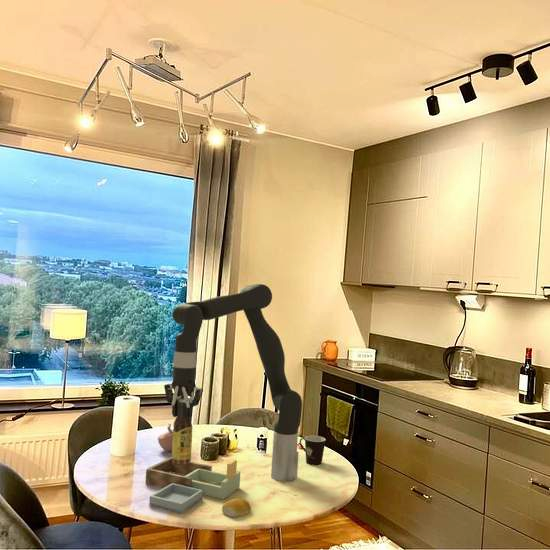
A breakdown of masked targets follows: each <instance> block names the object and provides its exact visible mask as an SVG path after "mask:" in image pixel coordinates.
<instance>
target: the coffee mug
mask: <svg viewBox="0 0 550 550" xmlns="http://www.w3.org/2000/svg"><path fill="white" fill-rule="evenodd" d="M302 440H304V445H305V447H304V446H303V444H302ZM326 441H327V440H326V438H325V437H323V436H319V435H307V436H304V437H301V438H300V440H299V446H300V447H301V449H302V450H303V451H304V453H305V463H306V464H307V465H309V466H314V465H315V466H316V467H317V466H321V465H322V462H323V457H324V452H325V451H324V450H325V445H326Z"/></svg>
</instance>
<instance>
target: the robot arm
mask: <svg viewBox="0 0 550 550" xmlns="http://www.w3.org/2000/svg"><path fill="white" fill-rule="evenodd" d="M272 301H273V293H272V290H271V288H269V286H267V285H266V284H262V283H261V284H260V283H257V284H251V285H245V286H243V287H242V288H241V289H240V291H239V292H238V293H233V294H226V295H221V296H214V297H211V298H207V299H204V300H200V301H199V300H198V301H191V302H190V301H189V302H183V303H181V304H178V305H177V306H175V307H174V309H173V310H172V320H173V321H174V322H175V323H176V324H177V325H181V326H183V328H182V332H180V333H178V334H176V337H175V340H174V343H175V344H174V355H173V360H172V361H173V362H172V363H173V364H172V382H171V383H167V384H165V385H164V386H163V387H164V391H165V397H166V403H169V404H171V407H172V408H171V415H172V418H173V417H174V418H177V416H178V401H181V400H180V399H181V398H182V397H183V399H184V400H183V401H186V406H187V408H186V419H190V420H191V418H192V417H193V409H194V407H196V406H199V404H200V401H201V398H202V395H203V391H204V389H203V387H200V388H199V387H198V386H197V385H196V382H195V381H196V380H197V379H196V378H197V377H196V376H197V363H198V362H197V361H198V358H197V351H198V350H197V348H198V338H199V334H200V332H201V328H202V324H203V321H210V320H215V319H218V318H221V317H225V316H228V315H231V314H234V313H237V312H240V311H241V312H242V311H243V312H244V315H245V317H246V320H247V322H248V325H249V327H250V330H251V333H252V336H253V339H254V342H255V345H256V349H257V353H258V354H259V358H260V362H261V363H262V367H263V370H264V373H265V375H266V378H267V382H268V386H269V391H270V395H271V400H272V404H273V406H274V407H275V409H276V410H277V411H278V412H279V413H278V421H275V423H274V425H273V439H272V453H271V455H272V456H271V470H270V471H271V472H270V473H271V474H270V477H271V478H272V480H273V479H274V480H276V481H278V482H293V481H294V480H295V479H296V478H297V477H298V468H299V451H298V439H299V438H298V437H299V428H300V426H301V423H302V422H301V421H302V410H303V401H302V400H303V399H302V396H301V395H300V393H299V392H297V391H295V390H293V389H291V386H290V385H289V382H288V380H287V379H288V378H287V377H286V372H285V367H286V366H285V365H286V363H285V362H286V359H285V351H284V349H283V345H282V342H281V339H280V337H279V335H278V334H277V332H276V331H275V330H274V329H273V328H272V327H271V325H270V324H269V323H268V321H267V320H266V318H265V317H264V314H263V311H262V309H266V308H267V307H268V306H269V305H270V304H271V303H272ZM193 393H194V394H193Z"/></svg>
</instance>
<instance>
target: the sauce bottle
mask: <svg viewBox="0 0 550 550" xmlns="http://www.w3.org/2000/svg"><path fill="white" fill-rule="evenodd" d="M186 408H187V406H186V401H185V400H179V401H178V416H177V417H175V419H174V422H173V429H172V430H173V442H172V452H171V458H172V463H173V464H176V465H185V464H188V463H190V462H192V461H191V459H192V442H193V424H192V421H191V418H190V419H186Z"/></svg>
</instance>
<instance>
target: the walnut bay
mask: <svg viewBox="0 0 550 550" xmlns="http://www.w3.org/2000/svg"><path fill="white" fill-rule="evenodd" d="M198 468H200V469H205V470H209V471H213V467H212V465H209V464H205V463H204V464H203V463H198V462H194V461H190V463H188V464H185V465H176V464H173V463H172V456H171V457H169V458H166V459H165V460H162V461H160V462H158V463H156V464H154V465H152V466H150V467H148V468H146V469H145V472H146V473H145V484H146V483H147V484H146V485H150V486H156V487H158V486H159V487H160V488H162V489H163V488H165V487H166V486H168V485H170V484H171V483H174V484H178V485H183V486H187V487H192V478H190V477H186V475H188V474H189V473H191V472H193V471H194V470H196V469H198ZM169 472H170V473H169ZM172 472H174V473H172ZM177 473H178V474H177ZM159 487H158V488H159Z"/></svg>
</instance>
